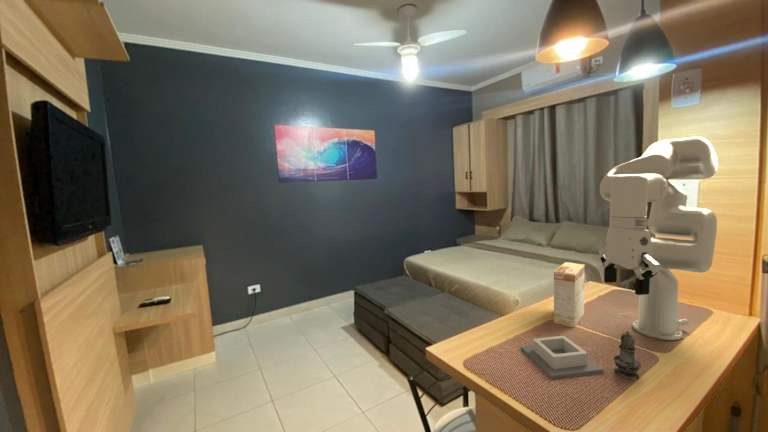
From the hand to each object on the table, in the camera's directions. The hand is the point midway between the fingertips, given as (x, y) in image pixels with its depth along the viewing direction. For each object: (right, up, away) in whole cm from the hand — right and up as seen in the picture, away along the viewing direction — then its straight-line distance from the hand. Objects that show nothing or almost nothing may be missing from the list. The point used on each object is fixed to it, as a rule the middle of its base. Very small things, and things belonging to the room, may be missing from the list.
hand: (625, 287), depth 82 cm
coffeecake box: (+6, -20, +35) cm, 41 cm away
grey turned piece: (+2, -24, +2) cm, 24 cm away
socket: (-12, -23, +9) cm, 28 cm away
